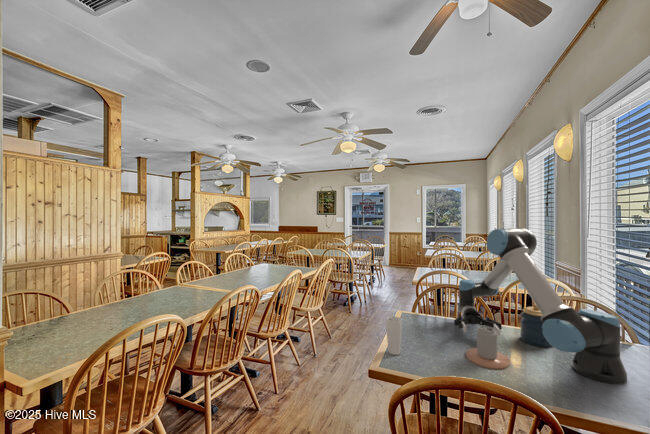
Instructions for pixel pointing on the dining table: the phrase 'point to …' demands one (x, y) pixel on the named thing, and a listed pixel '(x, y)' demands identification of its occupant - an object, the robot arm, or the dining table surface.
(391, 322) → the drinking glass
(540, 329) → the canister
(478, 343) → the can
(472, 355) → the terracotta plate
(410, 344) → the dining table surface
